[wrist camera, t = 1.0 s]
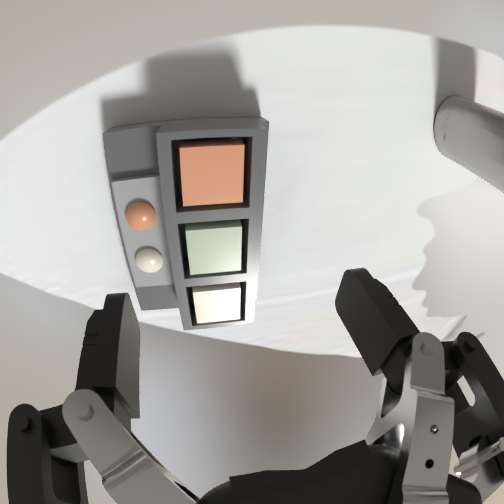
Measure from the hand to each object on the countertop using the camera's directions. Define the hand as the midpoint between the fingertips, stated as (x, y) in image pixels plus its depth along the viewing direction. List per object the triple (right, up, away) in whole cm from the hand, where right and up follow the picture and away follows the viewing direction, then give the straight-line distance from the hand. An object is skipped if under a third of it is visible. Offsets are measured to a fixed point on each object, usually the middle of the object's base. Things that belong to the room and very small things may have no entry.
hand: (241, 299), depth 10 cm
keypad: (-6, +5, +18) cm, 20 cm away
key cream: (-4, -3, +19) cm, 20 cm away
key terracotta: (-3, +8, +11) cm, 15 cm away
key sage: (-3, +3, +15) cm, 16 cm away
